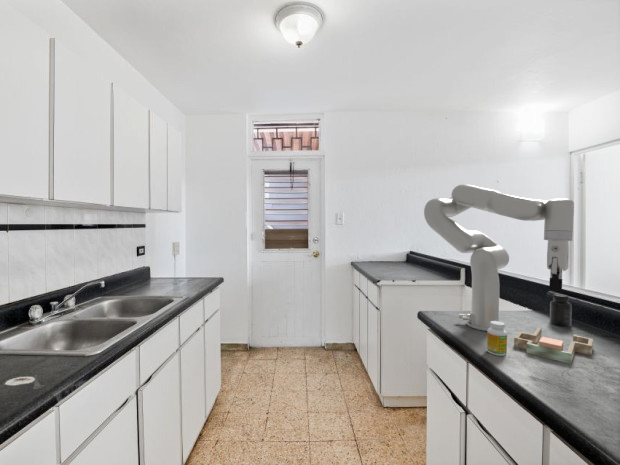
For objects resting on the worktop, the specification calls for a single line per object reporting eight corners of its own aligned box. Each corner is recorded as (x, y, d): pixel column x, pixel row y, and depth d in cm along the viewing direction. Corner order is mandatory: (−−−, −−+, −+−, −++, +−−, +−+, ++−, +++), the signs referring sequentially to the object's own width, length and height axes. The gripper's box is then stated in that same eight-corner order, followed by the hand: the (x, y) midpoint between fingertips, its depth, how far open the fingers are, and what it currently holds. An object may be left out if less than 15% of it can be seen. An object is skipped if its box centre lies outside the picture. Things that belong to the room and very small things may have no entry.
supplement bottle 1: (499, 357, 96) (500, 326, 96) (483, 351, 101) (484, 321, 100) (510, 354, 99) (511, 324, 98) (493, 347, 103) (494, 319, 103)
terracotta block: (538, 355, 98) (538, 341, 98) (541, 349, 102) (541, 336, 102) (560, 360, 94) (561, 346, 94) (562, 355, 98) (563, 341, 98)
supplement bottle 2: (567, 323, 128) (569, 294, 128) (573, 328, 122) (574, 298, 121) (547, 320, 131) (548, 292, 130) (552, 325, 125) (553, 296, 124)
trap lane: (511, 349, 102) (512, 340, 102) (525, 332, 117) (525, 324, 117) (589, 368, 89) (589, 358, 89) (592, 346, 104) (593, 338, 104)
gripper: (570, 237, 96) (567, 295, 97) (574, 235, 107) (572, 288, 108) (540, 236, 102) (537, 291, 103) (547, 234, 112) (545, 284, 113)
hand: (555, 289), depth 105 cm, fingers closed
